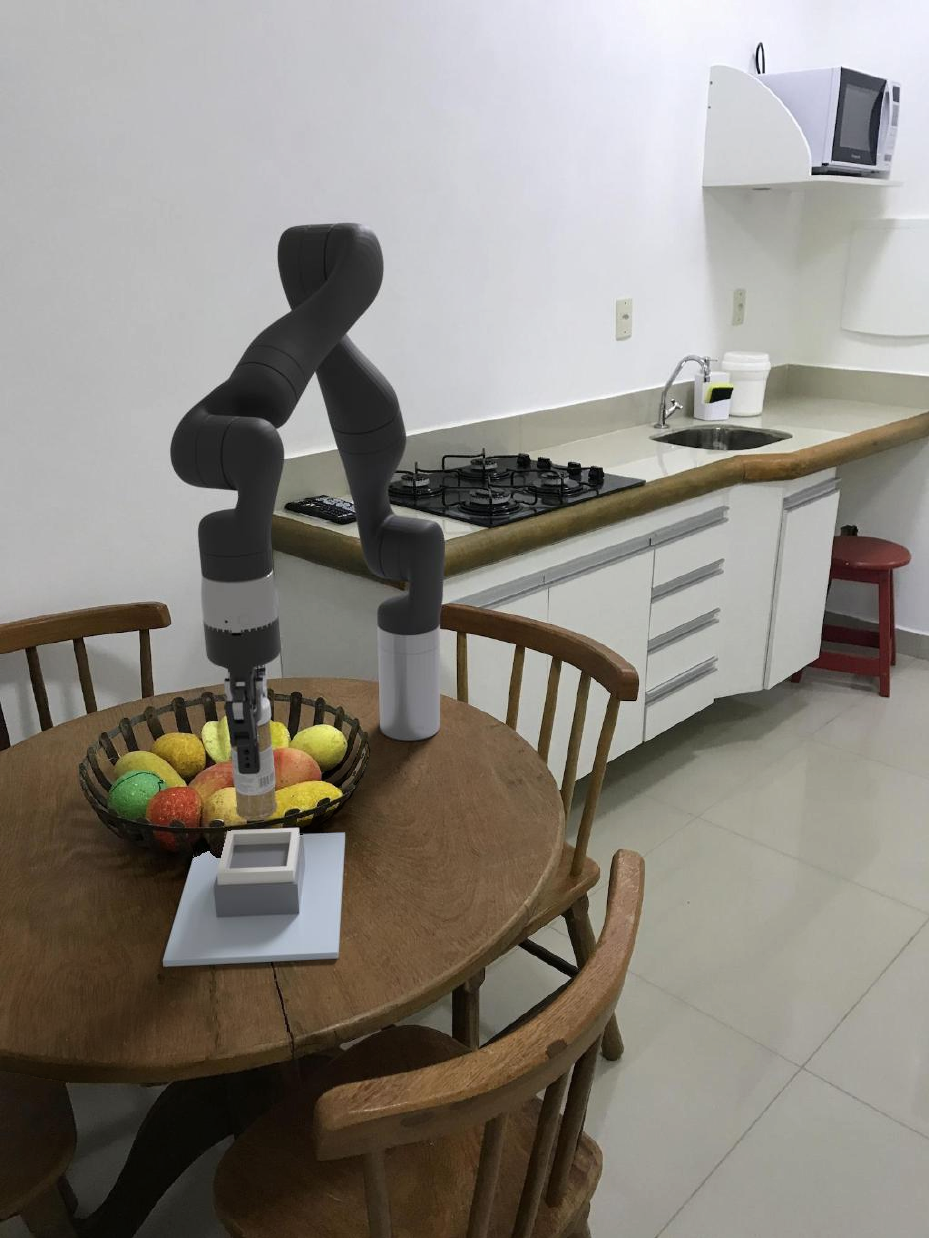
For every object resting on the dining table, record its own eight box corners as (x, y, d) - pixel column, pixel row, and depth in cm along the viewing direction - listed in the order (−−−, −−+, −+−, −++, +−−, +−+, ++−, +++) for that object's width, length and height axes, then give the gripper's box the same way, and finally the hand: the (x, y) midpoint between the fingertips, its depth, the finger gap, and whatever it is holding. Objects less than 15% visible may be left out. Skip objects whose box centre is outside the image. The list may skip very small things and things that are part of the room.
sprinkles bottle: (265, 796, 111) (257, 689, 106) (285, 813, 108) (278, 703, 103) (228, 809, 108) (218, 700, 103) (247, 827, 105) (238, 716, 100)
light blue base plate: (199, 843, 122) (195, 799, 119) (345, 837, 123) (343, 794, 121) (163, 966, 101) (157, 916, 99) (338, 958, 103) (336, 909, 100)
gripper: (214, 590, 106) (227, 730, 112) (190, 641, 93) (206, 797, 99) (284, 588, 106) (293, 728, 113) (270, 639, 93) (281, 794, 99)
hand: (252, 759), depth 106 cm, fingers closed on sprinkles bottle, 4 cm apart
